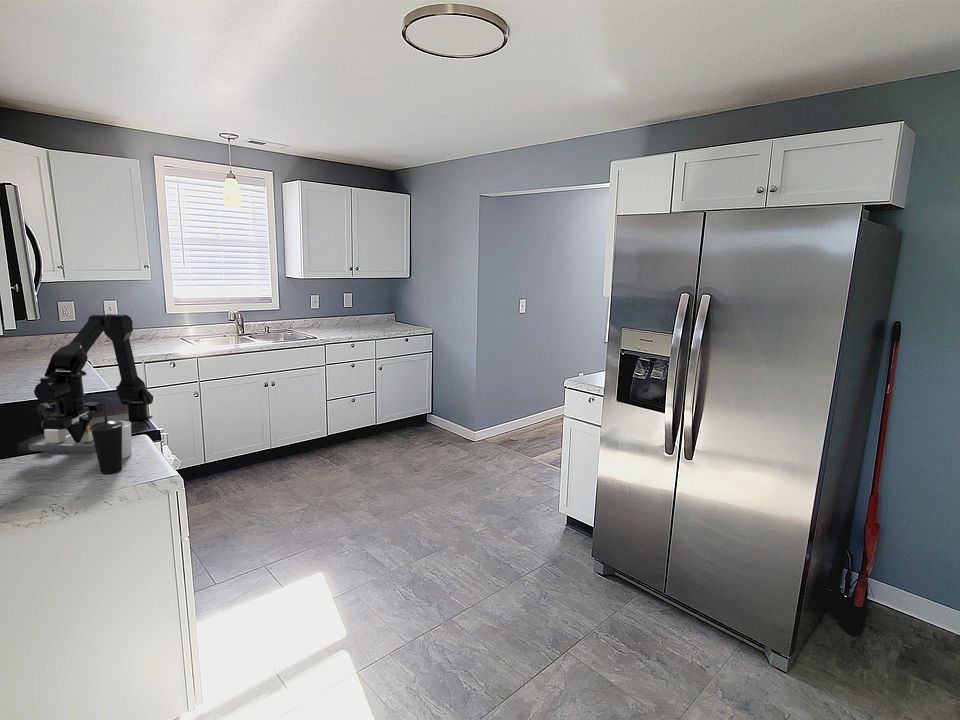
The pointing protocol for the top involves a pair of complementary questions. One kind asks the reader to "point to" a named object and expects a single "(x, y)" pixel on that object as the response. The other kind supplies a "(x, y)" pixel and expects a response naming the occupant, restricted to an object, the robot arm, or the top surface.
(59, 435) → the block
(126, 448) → the white cup
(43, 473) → the top surface
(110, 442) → the drinking cup
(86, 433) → the orange fader
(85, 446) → the grey square board
